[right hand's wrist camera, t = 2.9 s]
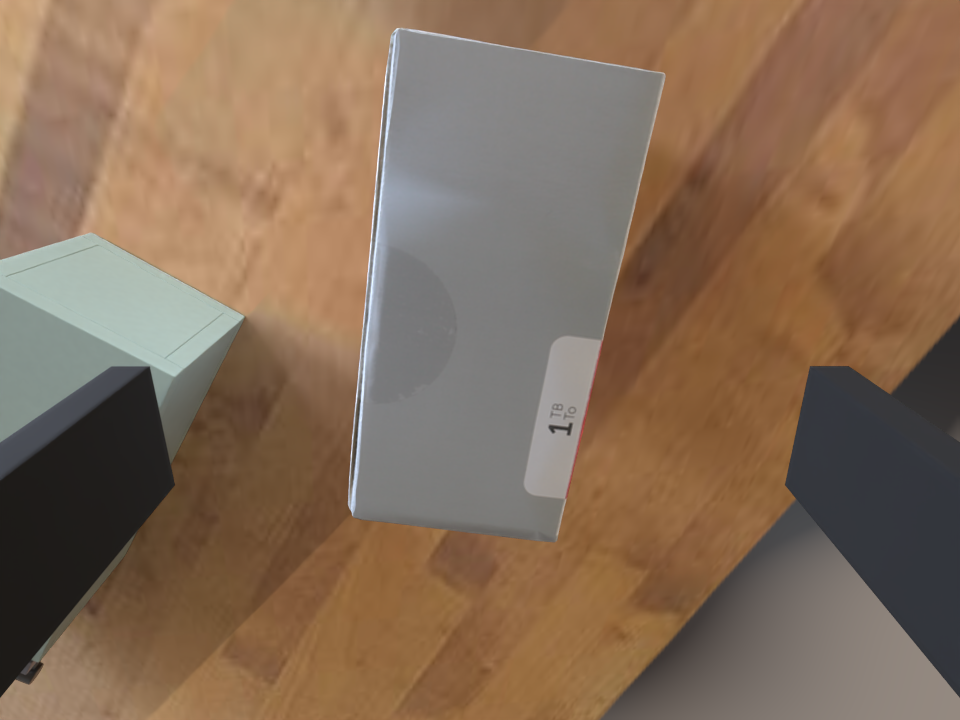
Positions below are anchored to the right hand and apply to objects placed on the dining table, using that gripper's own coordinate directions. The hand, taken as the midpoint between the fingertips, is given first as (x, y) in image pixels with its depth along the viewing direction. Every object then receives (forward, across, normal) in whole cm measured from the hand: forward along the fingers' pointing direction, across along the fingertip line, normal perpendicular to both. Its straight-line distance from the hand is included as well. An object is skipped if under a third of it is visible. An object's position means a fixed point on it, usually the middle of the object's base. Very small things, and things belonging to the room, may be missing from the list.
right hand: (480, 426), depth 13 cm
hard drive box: (+27, 0, 0) cm, 27 cm away
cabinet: (+27, -25, -13) cm, 39 cm away
